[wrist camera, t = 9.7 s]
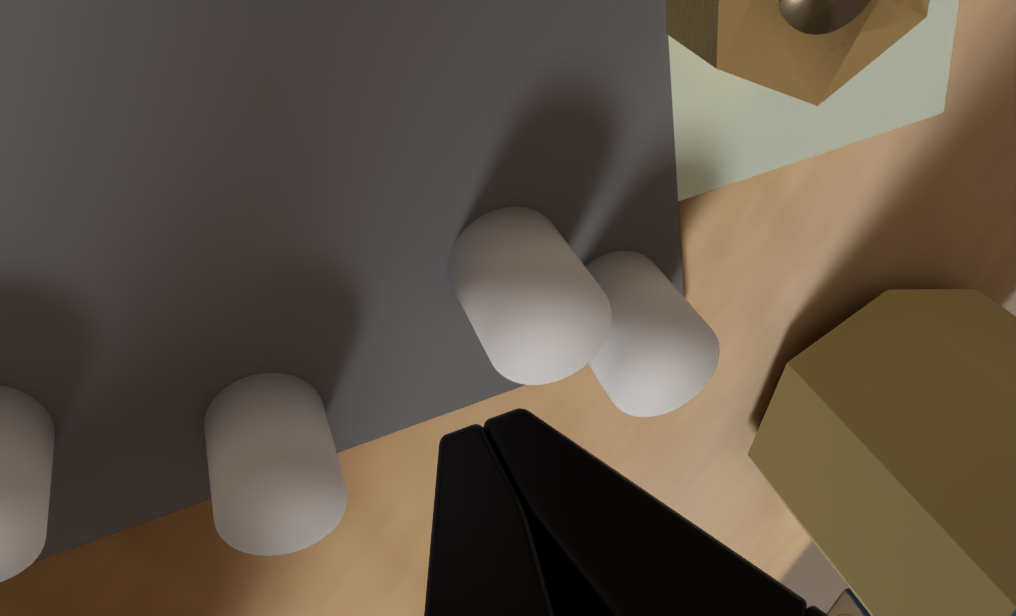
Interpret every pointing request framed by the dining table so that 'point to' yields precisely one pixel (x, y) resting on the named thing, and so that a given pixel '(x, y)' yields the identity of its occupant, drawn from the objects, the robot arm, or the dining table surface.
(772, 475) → the jar
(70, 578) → the dining table surface
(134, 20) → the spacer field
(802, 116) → the tile
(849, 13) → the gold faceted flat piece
